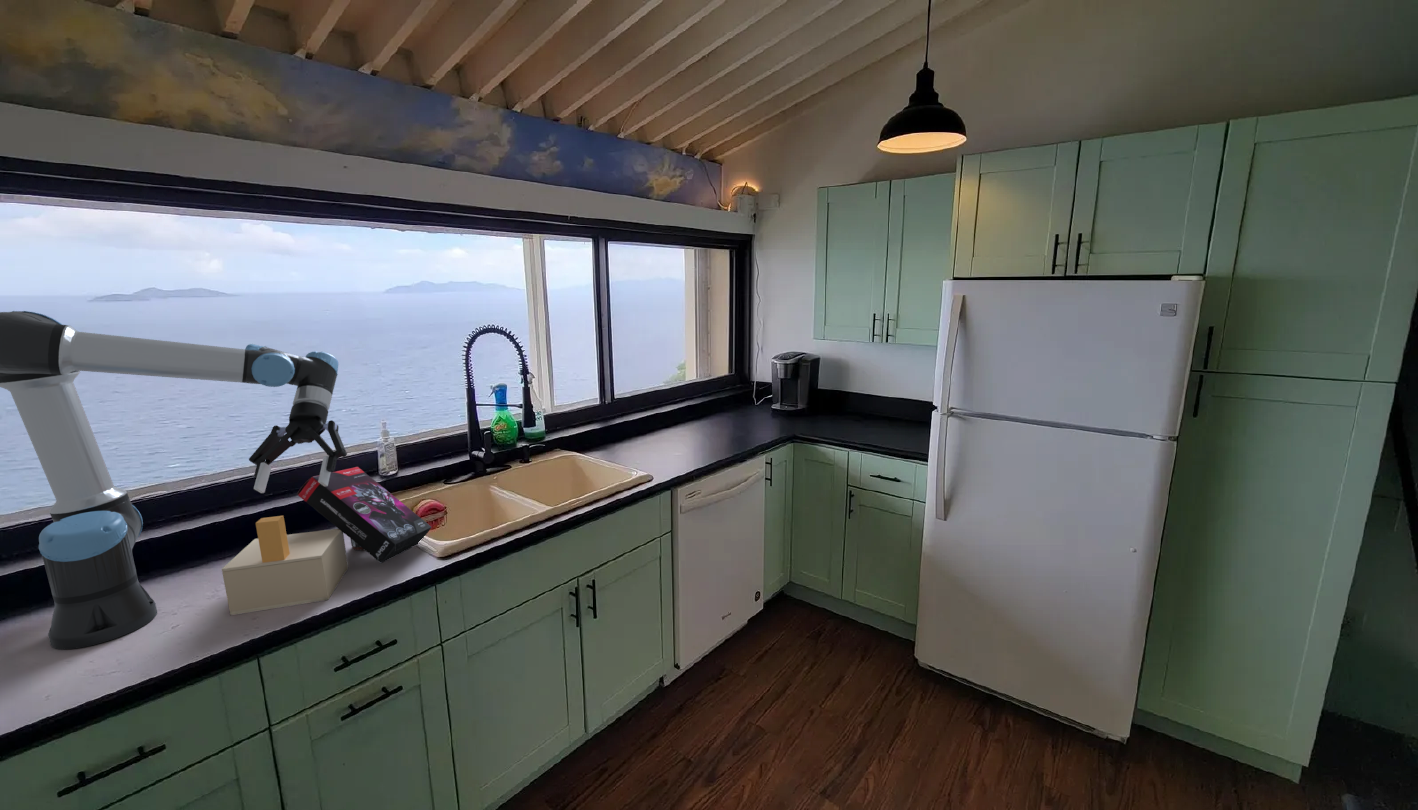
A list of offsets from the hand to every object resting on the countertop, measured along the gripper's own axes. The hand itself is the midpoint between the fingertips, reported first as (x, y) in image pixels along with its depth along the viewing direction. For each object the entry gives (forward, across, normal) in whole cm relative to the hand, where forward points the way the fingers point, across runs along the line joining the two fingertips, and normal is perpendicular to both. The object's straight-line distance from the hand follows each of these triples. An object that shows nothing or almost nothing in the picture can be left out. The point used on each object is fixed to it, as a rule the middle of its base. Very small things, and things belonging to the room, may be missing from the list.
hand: (291, 487), depth 128 cm
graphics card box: (+10, -18, -21) cm, 30 cm away
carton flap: (+12, +2, -7) cm, 14 cm away
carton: (+20, +2, -13) cm, 24 cm away
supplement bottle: (+5, -3, -30) cm, 31 cm away
